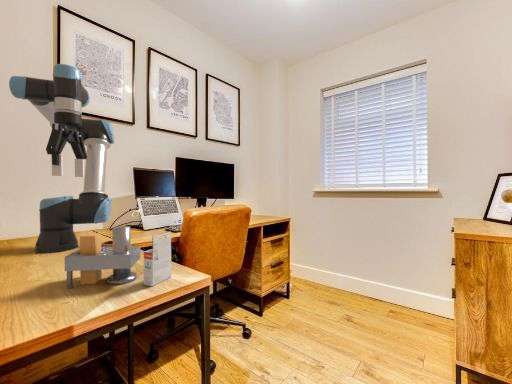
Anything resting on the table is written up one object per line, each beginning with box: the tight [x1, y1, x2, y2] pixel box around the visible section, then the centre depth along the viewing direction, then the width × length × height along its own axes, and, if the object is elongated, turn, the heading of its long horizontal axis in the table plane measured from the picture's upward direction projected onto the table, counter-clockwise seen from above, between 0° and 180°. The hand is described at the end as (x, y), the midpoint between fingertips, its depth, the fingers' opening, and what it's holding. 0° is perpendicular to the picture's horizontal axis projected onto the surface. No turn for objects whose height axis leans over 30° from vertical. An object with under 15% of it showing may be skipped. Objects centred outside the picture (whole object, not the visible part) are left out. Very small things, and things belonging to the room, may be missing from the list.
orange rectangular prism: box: [79, 232, 102, 285], centre depth 75 cm, size 4×4×14 cm
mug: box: [101, 240, 113, 247], centre depth 100 cm, size 12×7×7 cm, turn 37°
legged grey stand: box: [64, 225, 141, 290], centre depth 76 cm, size 17×10×16 cm, turn 100°
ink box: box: [143, 230, 172, 287], centre depth 76 cm, size 4×8×15 cm, turn 158°
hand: (69, 176), depth 86 cm, fingers open, 13 cm apart
